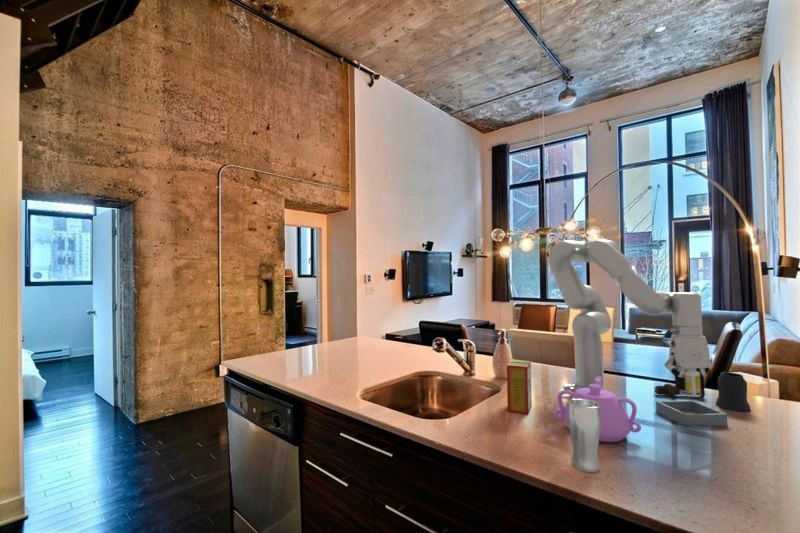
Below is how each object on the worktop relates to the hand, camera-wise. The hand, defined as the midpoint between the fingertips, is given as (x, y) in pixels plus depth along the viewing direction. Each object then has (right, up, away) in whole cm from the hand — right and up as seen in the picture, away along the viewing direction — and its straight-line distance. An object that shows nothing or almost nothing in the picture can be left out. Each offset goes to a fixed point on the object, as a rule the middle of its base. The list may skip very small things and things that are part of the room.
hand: (689, 388), depth 119 cm
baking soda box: (-50, -11, +10) cm, 52 cm away
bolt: (+13, -10, +22) cm, 27 cm away
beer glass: (-47, -9, -29) cm, 56 cm away
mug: (+23, -10, +11) cm, 27 cm away
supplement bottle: (0, -2, 0) cm, 2 cm away
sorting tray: (0, -9, 0) cm, 9 cm away
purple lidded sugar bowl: (-34, -10, -8) cm, 36 cm away
